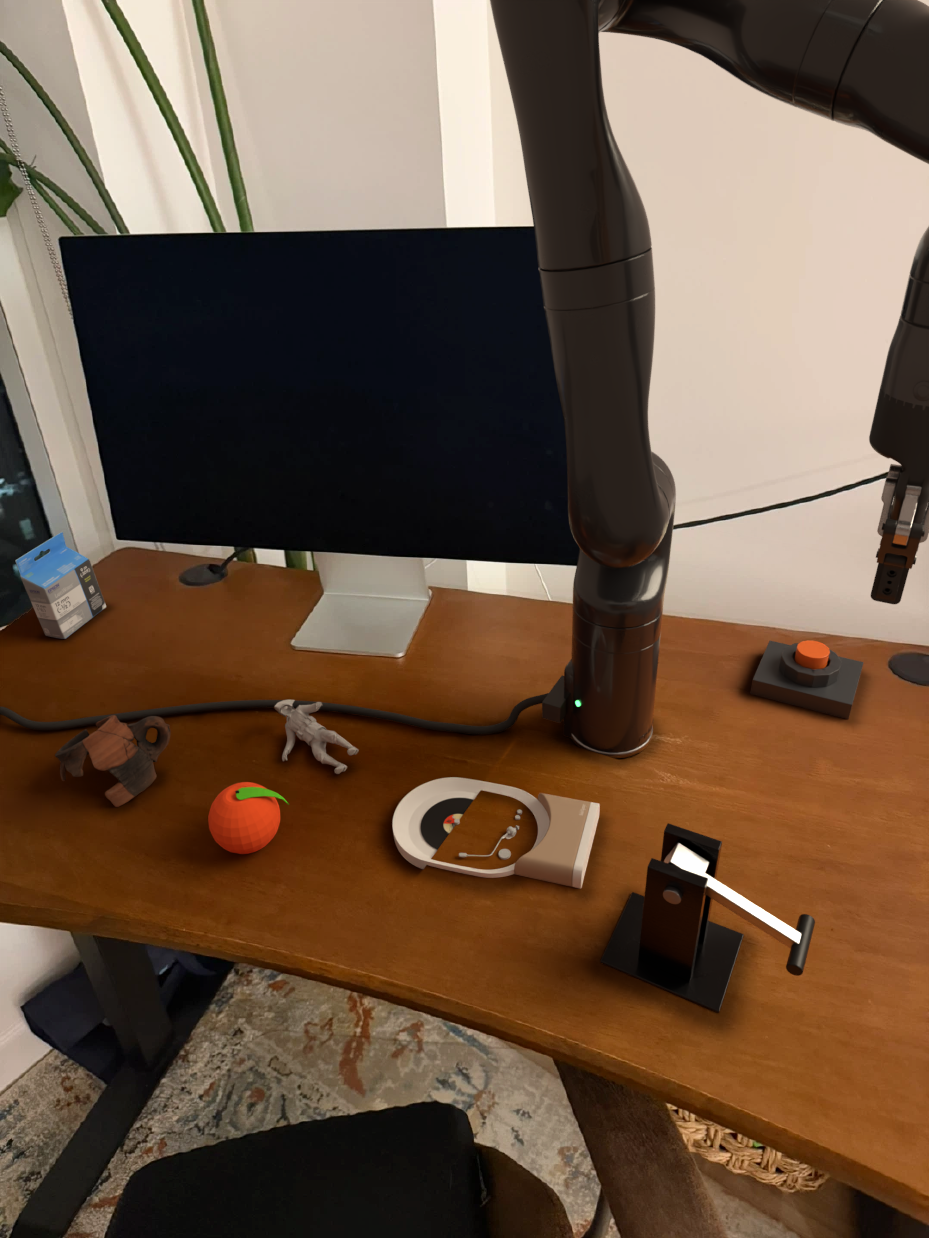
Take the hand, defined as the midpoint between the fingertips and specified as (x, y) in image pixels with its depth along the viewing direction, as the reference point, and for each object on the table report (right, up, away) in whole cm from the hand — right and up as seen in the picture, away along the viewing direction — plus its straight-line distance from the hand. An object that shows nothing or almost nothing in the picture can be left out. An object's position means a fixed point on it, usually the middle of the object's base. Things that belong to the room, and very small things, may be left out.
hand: (885, 597), depth 68 cm
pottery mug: (-72, -19, +27) cm, 79 cm away
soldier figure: (-51, -17, +29) cm, 61 cm away
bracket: (-16, -30, +4) cm, 35 cm away
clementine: (-55, -24, +18) cm, 63 cm away
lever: (-13, -25, -2) cm, 28 cm away
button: (+7, -7, +32) cm, 33 cm away
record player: (-31, -24, +17) cm, 42 cm away
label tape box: (-90, -2, +55) cm, 105 cm away
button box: (+7, -10, +34) cm, 36 cm away
